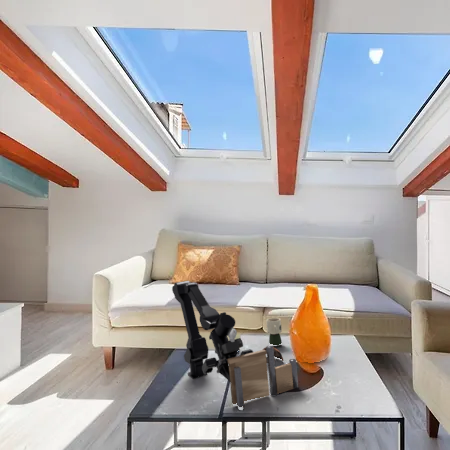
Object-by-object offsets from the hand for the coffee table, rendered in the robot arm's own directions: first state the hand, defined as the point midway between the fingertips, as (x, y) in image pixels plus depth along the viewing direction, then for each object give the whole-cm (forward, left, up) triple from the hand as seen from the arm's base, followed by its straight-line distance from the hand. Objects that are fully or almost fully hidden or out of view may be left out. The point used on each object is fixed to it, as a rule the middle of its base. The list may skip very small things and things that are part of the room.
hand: (237, 384), depth 130 cm
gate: (+1, +4, -6) cm, 8 cm away
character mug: (-41, +44, -7) cm, 61 cm away
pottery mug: (-25, +30, -7) cm, 40 cm away
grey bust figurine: (-48, +24, -7) cm, 54 cm away
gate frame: (+2, +11, -7) cm, 13 cm away
